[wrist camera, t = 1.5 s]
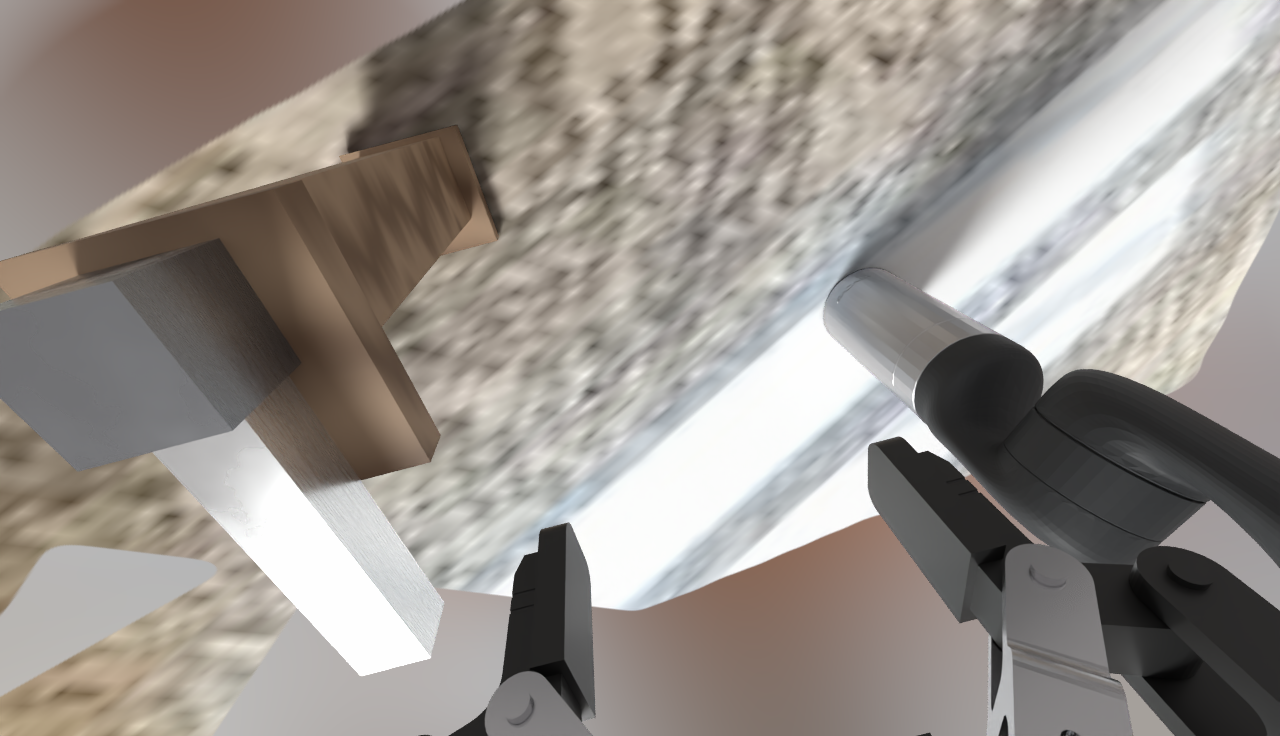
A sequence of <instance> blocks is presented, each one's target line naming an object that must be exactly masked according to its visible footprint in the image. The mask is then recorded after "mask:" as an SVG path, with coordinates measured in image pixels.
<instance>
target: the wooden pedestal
mask: <svg viewBox="0 0 1280 736" xmlns="http://www.w3.org/2000/svg"><path fill="white" fill-rule="evenodd" d="M339 157H340V159H341V161H342V163H340V164H336V165H333V166H329V167H326V168H322V169H319V170H316V171H312V172H309V173H305V174H302V175H298V176H295V177H291V178H288V179H285V180H281V181H278V182H274V183H271V184H267V185H264V186H260V187H257V188H254V189H250V190H247V191H243V192H240V193H236V194H233V195H229V196H226V197H223V198H219V199H216V200H212V201H209V202H205V203H202V204H198V205H195V206H192V207H188V208H185V209H181V210H178V211H174V212H171V213H167V214H164V215H161V216H157V217H154V218H150V219H147V220H143V221H140V222H136V223H133V224H130V225H126V226H123V227H119V228H116V229H112V230H109V231H106V232H102V233H99V234H95V235H92V236H88V237H85V238H81V239H78V240H74V241H70V242H67V243H63V244H59V245H55V246H52V247H48V248H44V249H40V250H37V251H33V252H30V253H26V254H23V255H20V256H16V257H12V258H9V259H6V260H2V261H0V287H1V288H2V289H3V290H4V291H5V292H6V293H7V295H8V296H9V297H10V298H11V299H14V298H17V297H20V296H23V295H25V294H28V293H31V292H34V291H36V290H39V289H42V288H45V287H47V286H50V285H53V284H56V283H58V282H61V281H64V280H67V279H69V278H72V277H75V276H78V275H81V274H85V273H89V272H93V271H96V270H100V269H104V268H108V267H112V266H115V265H119V264H123V263H127V262H130V261H134V260H138V259H142V258H145V257H149V256H153V255H157V254H161V253H164V252H168V251H172V250H176V249H179V248H183V247H187V246H191V245H194V244H198V243H202V242H206V241H210V240H213V239H217V238H220V240H221V241H222V243H223V244H224V246H225V247H226V249H227V250H228V252H229V253H230V255H231V256H232V258H233V259H234V261H235V263H236V264H237V266H238V267H239V269H240V270H241V272H242V273H243V275H244V276H245V278H246V279H247V281H248V282H249V284H250V285H251V287H252V288H253V290H254V291H255V293H256V294H257V296H258V297H259V299H260V300H261V302H262V303H263V305H264V306H265V308H266V309H267V311H268V312H269V314H270V315H271V317H272V319H273V320H274V322H275V323H276V325H277V326H278V328H279V329H280V331H281V332H282V334H283V335H284V337H285V338H286V340H287V341H288V343H289V344H290V346H291V347H292V349H293V350H294V352H295V353H296V355H297V356H298V358H299V359H300V361H301V362H302V363H301V364H300V365H299V366H298V367H297V368H296V369H295V370H294V371H293V372H292V373H291V374H290V375H289V377H290V378H291V380H292V381H293V383H294V384H295V386H296V387H297V389H298V390H299V391H300V393H301V394H302V396H303V397H304V399H305V400H306V402H307V403H308V405H309V406H310V407H311V409H312V410H313V412H314V413H315V415H316V416H317V418H318V419H319V421H320V422H321V424H322V425H323V426H324V428H325V429H326V431H327V432H328V434H329V435H330V437H331V438H332V440H333V441H334V442H335V444H336V445H337V447H338V448H339V450H340V451H341V453H342V454H343V456H344V457H345V458H346V460H347V461H348V463H349V464H350V466H351V467H352V469H353V470H354V472H355V473H356V475H357V476H358V477H359V479H360V480H364V479H368V478H371V477H375V476H379V475H383V474H387V473H391V472H394V471H398V470H402V469H406V468H410V467H414V466H417V465H421V464H425V463H429V462H431V459H432V457H433V454H434V452H435V449H436V447H437V444H438V441H439V439H440V436H441V435H440V433H439V431H438V429H437V428H436V426H435V424H434V422H433V420H432V418H431V417H430V415H429V413H428V411H427V409H426V407H425V406H424V404H423V402H422V400H421V398H420V396H419V395H418V393H417V391H416V389H415V387H414V385H413V384H412V382H411V380H410V378H409V376H408V374H407V372H406V371H405V369H404V367H403V365H402V363H401V361H400V360H399V358H398V356H397V354H396V352H395V350H394V349H393V347H392V345H391V343H390V341H389V339H388V338H387V336H386V334H385V332H384V330H383V328H382V326H383V325H384V324H385V322H386V321H387V320H388V319H389V318H390V316H391V315H392V314H393V313H394V312H395V310H396V309H397V308H398V307H399V305H400V304H401V303H402V302H403V301H404V299H405V298H406V297H407V296H408V295H409V293H410V292H411V291H412V290H413V289H414V287H415V286H416V285H417V284H418V282H419V281H420V280H421V279H422V278H423V276H424V275H425V274H426V273H427V272H428V270H429V269H430V268H431V267H432V265H433V264H434V263H435V262H436V261H437V259H438V258H439V257H440V256H441V255H445V254H449V253H452V252H456V251H460V250H464V249H467V248H471V247H475V246H479V245H483V244H486V243H490V242H494V241H497V240H498V238H499V235H498V232H497V230H496V227H495V224H494V222H493V219H492V216H491V214H490V211H489V208H488V206H487V203H486V200H485V198H484V195H483V192H482V190H481V187H480V184H479V182H478V179H477V176H476V174H475V171H474V168H473V166H472V163H471V160H470V158H469V155H468V152H467V150H466V147H465V144H464V142H463V139H462V136H461V134H460V131H459V128H458V126H457V125H454V126H451V127H447V128H443V129H439V130H435V131H432V132H428V133H424V134H420V135H417V136H413V137H409V138H405V139H402V140H398V141H394V142H390V143H387V144H383V145H379V146H375V147H372V148H368V149H364V150H360V151H357V152H353V153H349V154H345V155H342V156H339Z"/></svg>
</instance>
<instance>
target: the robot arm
mask: <svg viewBox="0 0 1280 736" xmlns="http://www.w3.org/2000/svg"><path fill="white" fill-rule="evenodd" d="M823 319H824V325H825V327H826V329H827V332H828V333H829V334H830V335H831V336H832V337H833V338H834V339H835V340H836V341H837V342H838V343H839V344H840V345H841V346H842V347H844V348H845V349H846V350H847V351H848V352H849V353H850V354H851V355H852V356H853V357H854V358H855V359H856V360H857V361H858V362H860V363H861V364H862V365H863V366H864V367H865V368H866V369H867V370H868V371H869V372H870V373H871V374H873V375H874V376H875V377H876V378H877V379H878V380H879V381H880V382H881V383H882V384H883V385H884V386H886V387H887V388H888V389H889V390H890V391H891V392H892V393H893V394H894V395H895V396H896V397H898V398H899V399H900V400H901V401H902V402H903V403H904V404H905V405H906V406H908V407H909V408H910V409H911V410H912V411H913V412H914V413H915V414H916V415H917V416H918V417H919V418H920V419H921V420H922V421H923V422H924V423H925V424H927V425H928V427H929V429H930V430H931V432H932V433H933V435H934V436H935V437H936V438H937V439H938V440H939V441H940V442H941V443H942V444H943V445H944V446H945V447H946V448H947V449H948V450H949V451H950V452H951V453H952V454H953V455H954V456H955V457H956V458H957V459H958V460H959V461H960V462H961V463H962V464H963V465H964V467H965V468H966V469H967V470H968V471H969V472H970V473H971V474H972V475H973V476H974V477H975V478H976V480H977V481H978V482H979V483H980V484H981V485H982V486H983V487H984V488H985V489H986V490H987V492H988V493H989V494H990V495H991V496H992V497H993V498H994V499H995V500H996V501H997V502H998V503H999V504H1000V505H1001V506H1002V507H1003V508H1004V509H1005V510H1006V511H1007V512H1008V513H1009V514H1010V515H1011V516H1013V517H1014V518H1015V519H1016V520H1017V521H1018V522H1019V523H1020V524H1022V525H1023V526H1024V527H1025V528H1026V529H1027V530H1028V531H1030V532H1031V533H1032V534H1033V535H1035V536H1036V537H1037V538H1039V539H1040V540H1042V541H1043V542H1044V543H1046V544H1047V545H1049V546H1046V545H1041V544H1034V543H1032V542H1031V541H1030V540H1029V539H1028V538H1027V537H1025V535H1024V534H1023V533H1022V532H1021V531H1020V530H1019V529H1017V528H1016V527H1015V526H1014V525H1013V524H1012V523H1011V522H1010V521H1009V520H1008V519H1007V518H1006V517H1005V516H1004V515H1003V514H1002V513H1001V512H1000V511H999V510H998V509H997V508H996V507H995V506H994V505H993V504H992V503H991V502H990V501H989V500H988V499H987V498H985V497H984V496H983V494H982V493H978V491H977V489H976V488H975V487H974V486H973V485H972V484H971V483H970V482H969V481H968V480H965V477H964V476H963V475H962V474H961V473H960V472H959V471H958V470H957V469H956V468H955V467H954V466H953V465H952V464H951V463H950V462H948V461H946V460H944V459H942V458H940V457H939V456H937V455H935V454H933V453H931V452H929V451H925V452H921V453H917V452H916V451H915V450H914V449H913V447H912V446H911V445H910V444H909V443H908V442H907V441H906V440H905V439H903V438H902V437H895V438H891V439H887V440H884V441H880V442H876V443H872V444H870V445H869V447H868V490H869V494H870V498H871V500H872V502H873V505H874V506H875V508H876V510H877V511H878V513H879V514H880V515H881V517H882V518H883V519H884V521H885V522H886V523H887V525H888V526H889V528H890V529H891V530H892V532H893V533H894V534H895V536H896V537H897V538H898V540H899V541H900V543H901V544H902V545H903V546H904V548H905V549H906V551H907V552H908V553H909V555H910V556H911V558H912V559H913V560H914V562H915V563H916V564H917V566H918V567H919V568H920V570H921V571H922V573H923V574H924V575H925V577H926V578H927V579H928V581H929V582H930V583H931V585H932V586H933V587H934V589H935V590H936V592H937V593H938V594H939V596H940V597H941V598H942V600H943V601H944V602H945V604H946V605H947V607H948V608H949V609H950V611H951V612H952V613H953V615H954V616H955V618H956V619H957V620H958V621H959V623H962V622H966V621H970V620H974V619H978V620H979V621H980V623H981V624H982V626H983V627H984V628H985V629H986V631H987V632H988V633H989V639H988V644H989V645H988V723H987V734H986V736H1133V732H1132V727H1131V721H1130V716H1129V710H1128V705H1127V700H1126V695H1125V692H1124V689H1123V687H1122V685H1121V683H1120V682H1119V681H1118V680H1115V679H1112V678H1111V676H1110V673H1114V674H1121V675H1122V676H1123V677H1124V678H1125V680H1126V681H1127V682H1128V683H1129V684H1130V685H1131V686H1132V688H1133V689H1134V690H1135V691H1136V692H1137V693H1138V694H1139V695H1140V696H1141V698H1142V699H1143V700H1144V701H1145V702H1146V703H1147V704H1148V706H1149V707H1150V708H1151V709H1152V710H1153V711H1154V713H1155V714H1157V716H1158V717H1159V718H1160V720H1161V721H1162V722H1163V723H1164V724H1165V725H1166V726H1167V727H1168V729H1169V730H1170V731H1171V732H1172V733H1173V734H1174V735H1175V736H1280V611H1279V610H1278V609H1277V608H1275V607H1274V606H1273V605H1272V604H1270V603H1269V602H1268V601H1266V600H1265V599H1264V598H1263V597H1261V596H1260V595H1259V594H1257V593H1256V592H1255V591H1254V590H1252V589H1251V588H1250V587H1248V586H1247V585H1246V584H1244V583H1243V582H1242V581H1241V580H1239V579H1238V578H1237V577H1235V576H1234V575H1233V574H1232V573H1230V572H1229V571H1228V570H1227V569H1225V568H1224V567H1222V566H1221V565H1219V564H1218V563H1216V562H1214V561H1213V560H1211V559H1209V558H1206V557H1205V556H1203V555H1200V554H1197V553H1194V552H1192V551H1189V550H1185V549H1181V548H1176V547H1169V546H1158V545H1159V544H1160V543H1161V542H1162V541H1163V540H1165V539H1166V538H1167V537H1168V536H1169V535H1170V534H1172V533H1173V532H1174V531H1175V530H1176V529H1177V528H1178V527H1180V526H1181V525H1182V524H1183V523H1184V522H1185V521H1186V520H1187V519H1189V518H1190V517H1191V516H1192V515H1193V514H1194V513H1196V512H1197V511H1198V510H1199V509H1200V508H1201V507H1202V506H1203V505H1205V504H1206V502H1207V501H1210V500H1212V501H1213V502H1214V503H1215V504H1217V506H1219V507H1220V508H1221V509H1222V510H1224V512H1226V513H1227V514H1228V515H1229V516H1230V517H1231V518H1232V519H1233V520H1234V521H1235V522H1236V523H1238V525H1240V527H1242V528H1243V529H1244V530H1245V531H1246V532H1247V533H1248V534H1249V535H1250V536H1251V537H1252V538H1253V539H1254V540H1255V541H1256V542H1257V543H1258V544H1259V545H1260V546H1261V547H1262V549H1263V550H1264V551H1265V552H1266V553H1267V554H1268V555H1269V556H1270V557H1271V558H1272V559H1273V561H1274V562H1275V563H1276V564H1277V565H1278V567H1279V568H1280V459H1279V458H1277V457H1276V456H1274V455H1272V454H1270V453H1269V452H1267V451H1265V450H1263V449H1262V448H1260V447H1258V446H1256V445H1254V444H1253V443H1251V442H1249V441H1247V440H1246V439H1244V438H1242V437H1240V436H1239V435H1237V434H1235V433H1233V432H1231V431H1230V430H1228V429H1226V428H1225V427H1223V426H1221V425H1219V424H1217V423H1215V422H1214V421H1212V420H1210V419H1208V418H1207V417H1205V416H1203V415H1201V414H1199V413H1198V412H1196V411H1194V410H1192V409H1190V408H1189V407H1187V406H1185V405H1183V404H1181V403H1179V402H1177V401H1176V400H1174V399H1172V398H1170V397H1168V396H1166V395H1164V394H1162V393H1160V392H1158V391H1156V390H1153V389H1151V388H1149V387H1147V386H1145V385H1143V384H1140V383H1138V382H1135V381H1133V380H1130V379H1128V378H1125V377H1122V376H1119V375H1116V374H1113V373H1109V372H1105V371H1100V370H1093V369H1080V370H1075V371H1072V372H1070V373H1068V374H1066V375H1064V376H1063V377H1062V378H1061V379H1059V380H1058V381H1057V382H1056V383H1055V384H1054V385H1053V386H1051V387H1050V388H1049V389H1048V390H1047V391H1046V392H1045V394H1044V395H1043V396H1042V397H1041V394H1042V390H1043V372H1042V368H1041V366H1040V364H1039V362H1038V360H1037V359H1036V358H1035V356H1034V355H1033V354H1032V353H1031V352H1030V351H1028V350H1027V349H1025V348H1024V347H1022V346H1021V345H1019V344H1017V343H1016V342H1014V341H1012V340H1010V339H1008V338H1006V337H1004V336H1003V335H1001V334H999V333H997V332H995V331H994V330H992V329H990V328H988V327H986V326H985V325H983V324H981V323H979V322H977V321H975V320H974V319H972V318H970V317H968V316H966V315H965V314H963V313H961V312H959V311H957V310H956V309H954V308H952V307H950V306H948V305H947V304H945V303H943V302H941V301H940V300H938V299H936V298H934V297H932V296H931V295H929V294H927V293H925V292H923V291H922V290H920V289H918V288H916V287H914V286H913V285H911V284H909V283H908V282H906V281H904V280H902V279H900V278H899V277H897V276H895V275H893V274H891V273H890V272H887V271H885V270H883V269H877V268H868V269H863V270H859V271H857V272H855V273H852V274H850V275H849V276H847V277H846V278H844V279H843V280H842V281H841V282H840V283H839V284H838V285H837V286H836V287H835V288H834V289H833V291H832V292H831V293H830V295H829V297H828V299H827V301H826V304H825V308H824V315H823ZM512 595H513V598H512V600H511V609H510V611H511V614H510V617H509V624H508V632H507V641H506V649H505V657H504V665H503V674H502V679H501V683H500V686H499V688H498V689H497V690H496V691H495V693H494V694H493V696H492V698H491V699H490V701H489V704H488V707H487V708H486V709H485V710H484V711H483V712H482V713H481V714H480V715H479V716H478V717H477V718H475V719H474V720H473V721H471V722H470V723H468V724H467V725H465V726H464V727H462V728H461V729H459V730H457V731H456V732H454V733H452V734H451V735H449V736H593V735H592V734H591V733H590V732H589V730H588V729H587V728H586V727H585V726H584V724H583V723H582V721H584V720H588V719H592V718H595V695H594V694H595V693H594V666H593V665H594V664H593V640H592V639H593V637H592V610H591V583H590V575H589V570H588V566H587V562H586V559H585V557H584V555H583V552H582V550H581V547H580V545H579V543H578V540H577V538H576V536H575V533H574V531H573V528H572V526H571V524H570V523H569V522H568V523H564V524H561V525H557V526H553V527H549V528H545V529H541V531H540V534H539V546H538V552H536V553H532V554H528V555H524V557H523V559H522V561H521V563H520V565H519V567H518V569H517V571H516V573H515V575H514V583H513V591H512ZM420 736H430V735H420ZM918 736H931V734H930V733H926V734H923V735H918Z"/></svg>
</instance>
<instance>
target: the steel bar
mask: <svg viewBox="0 0 1280 736" xmlns="http://www.w3.org/2000/svg"><path fill="white" fill-rule="evenodd" d="M301 363H302V362H301V361H300V359H299V358H298V356H297V355H296V353H295V352H294V350H293V349H292V347H291V346H290V344H289V343H288V341H287V340H286V338H285V337H284V335H283V334H282V332H281V331H280V329H279V328H278V326H277V325H276V323H275V322H274V320H273V319H272V317H271V315H270V314H269V312H268V311H267V309H266V308H265V306H264V305H263V303H262V302H261V300H260V299H259V297H258V296H257V294H256V293H255V291H254V290H253V288H252V287H251V285H250V284H249V282H248V281H247V279H246V278H245V276H244V275H243V273H242V272H241V270H240V269H239V267H238V266H237V264H236V263H235V261H234V259H233V258H232V256H231V255H230V253H229V252H228V250H227V249H226V247H225V246H224V244H223V243H222V241H221V240H220V238H217V239H213V240H210V241H206V242H202V243H198V244H194V245H191V246H187V247H183V248H179V249H176V250H172V251H168V252H164V253H161V254H157V255H153V256H149V257H145V258H142V259H138V260H134V261H130V262H127V263H123V264H119V265H115V266H112V267H108V268H104V269H100V270H96V271H93V272H89V273H85V274H81V275H78V276H75V277H72V278H69V279H67V280H64V281H61V282H58V283H56V284H53V285H50V286H47V287H45V288H42V289H39V290H36V291H34V292H31V293H28V294H25V295H23V296H20V297H17V298H14V299H12V300H9V301H6V302H3V303H0V399H2V400H3V401H4V402H5V403H6V404H7V405H8V406H9V407H10V408H11V409H12V410H13V411H14V412H15V413H16V414H17V415H18V416H20V417H21V418H22V419H23V420H24V421H25V422H26V423H27V424H28V425H29V426H30V427H31V428H32V429H33V430H34V431H35V432H36V433H38V434H39V435H40V436H41V437H42V438H43V439H44V440H45V441H46V442H47V443H48V444H49V445H50V446H51V447H52V448H53V449H54V450H55V451H57V452H58V453H59V454H60V455H61V456H62V457H63V458H64V459H65V460H66V461H67V462H68V463H69V464H70V465H71V466H72V467H73V468H75V469H76V470H77V471H82V470H86V469H89V468H93V467H97V466H101V465H105V464H108V463H112V462H116V461H120V460H124V459H127V458H131V457H135V456H139V455H143V454H146V453H150V452H153V453H154V454H155V455H156V457H157V458H158V459H159V460H160V461H161V462H162V463H163V464H164V465H165V466H166V467H167V468H168V469H169V470H170V472H171V473H172V474H173V475H174V476H175V477H176V478H177V479H178V480H179V481H180V482H181V483H182V484H183V485H184V487H185V488H186V489H187V490H188V491H189V492H190V493H191V494H192V495H193V496H194V497H195V498H196V499H197V500H198V502H199V503H200V504H201V505H202V506H203V507H204V508H205V509H206V510H207V511H208V512H209V513H210V514H211V515H212V517H213V518H214V519H215V520H216V521H217V522H218V523H219V524H220V525H221V526H222V527H223V528H224V529H225V530H226V532H227V533H228V534H229V535H230V536H231V537H232V538H233V539H234V540H235V541H236V542H237V543H238V544H239V545H240V547H241V548H242V549H243V550H244V551H245V552H246V553H247V554H248V555H249V556H250V557H251V558H252V559H253V560H254V562H255V563H256V564H257V565H258V566H259V567H260V568H261V569H262V570H263V571H264V572H265V573H266V574H267V575H268V577H269V578H270V579H271V580H272V581H273V582H274V583H275V584H276V585H277V586H278V587H279V588H280V589H281V590H282V592H283V593H284V594H285V595H286V596H287V597H288V598H289V599H290V600H291V601H292V602H293V603H294V604H295V605H296V607H297V608H298V609H299V610H300V611H301V612H302V613H303V614H304V615H305V616H306V617H307V618H308V619H309V620H310V622H311V623H312V624H313V625H314V626H315V627H316V628H317V629H318V630H319V631H320V632H321V633H322V634H323V635H324V636H325V638H326V639H327V640H328V641H329V642H330V643H331V644H332V645H333V646H334V647H335V648H336V649H337V650H338V652H339V653H340V654H341V655H342V656H343V657H344V658H345V659H346V660H347V661H348V662H349V663H350V664H351V665H352V666H353V668H354V669H355V670H356V671H357V672H358V673H359V674H360V675H365V674H369V673H373V672H377V671H381V670H385V669H388V668H392V667H396V666H400V665H404V664H408V663H412V662H415V661H419V660H423V659H427V658H431V654H432V650H433V645H434V642H435V638H436V634H437V630H438V626H439V622H440V618H441V614H442V610H443V606H444V601H443V600H442V598H441V597H440V595H439V594H438V593H437V591H436V590H435V588H434V587H433V585H432V584H431V582H430V581H429V579H428V578H427V576H426V575H425V574H424V572H423V571H422V569H421V568H420V566H419V565H418V563H417V562H416V560H415V559H414V558H413V556H412V555H411V553H410V552H409V550H408V549H407V547H406V546H405V544H404V543H403V542H402V540H401V539H400V537H399V536H398V534H397V533H396V531H395V530H394V528H393V527H392V526H391V524H390V523H389V521H388V520H387V518H386V517H385V515H384V514H383V512H382V511H381V509H380V508H379V507H378V505H377V504H376V502H375V501H374V499H373V498H372V496H371V495H370V493H369V492H368V491H367V489H366V488H365V486H364V485H363V483H362V482H361V480H360V479H359V477H358V476H357V475H356V473H355V472H354V470H353V469H352V467H351V466H350V464H349V463H348V461H347V460H346V458H345V457H344V456H343V454H342V453H341V451H340V450H339V448H338V447H337V445H336V444H335V442H334V441H333V440H332V438H331V437H330V435H329V434H328V432H327V431H326V429H325V428H324V426H323V425H322V424H321V422H320V421H319V419H318V418H317V416H316V415H315V413H314V412H313V410H312V409H311V407H310V406H309V405H308V403H307V402H306V400H305V399H304V397H303V396H302V394H301V393H300V391H299V390H298V389H297V387H296V386H295V384H294V383H293V381H292V380H291V378H290V377H289V375H290V374H291V373H292V372H293V371H294V370H295V369H296V368H297V367H298V366H299V365H300V364H301Z"/></svg>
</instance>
